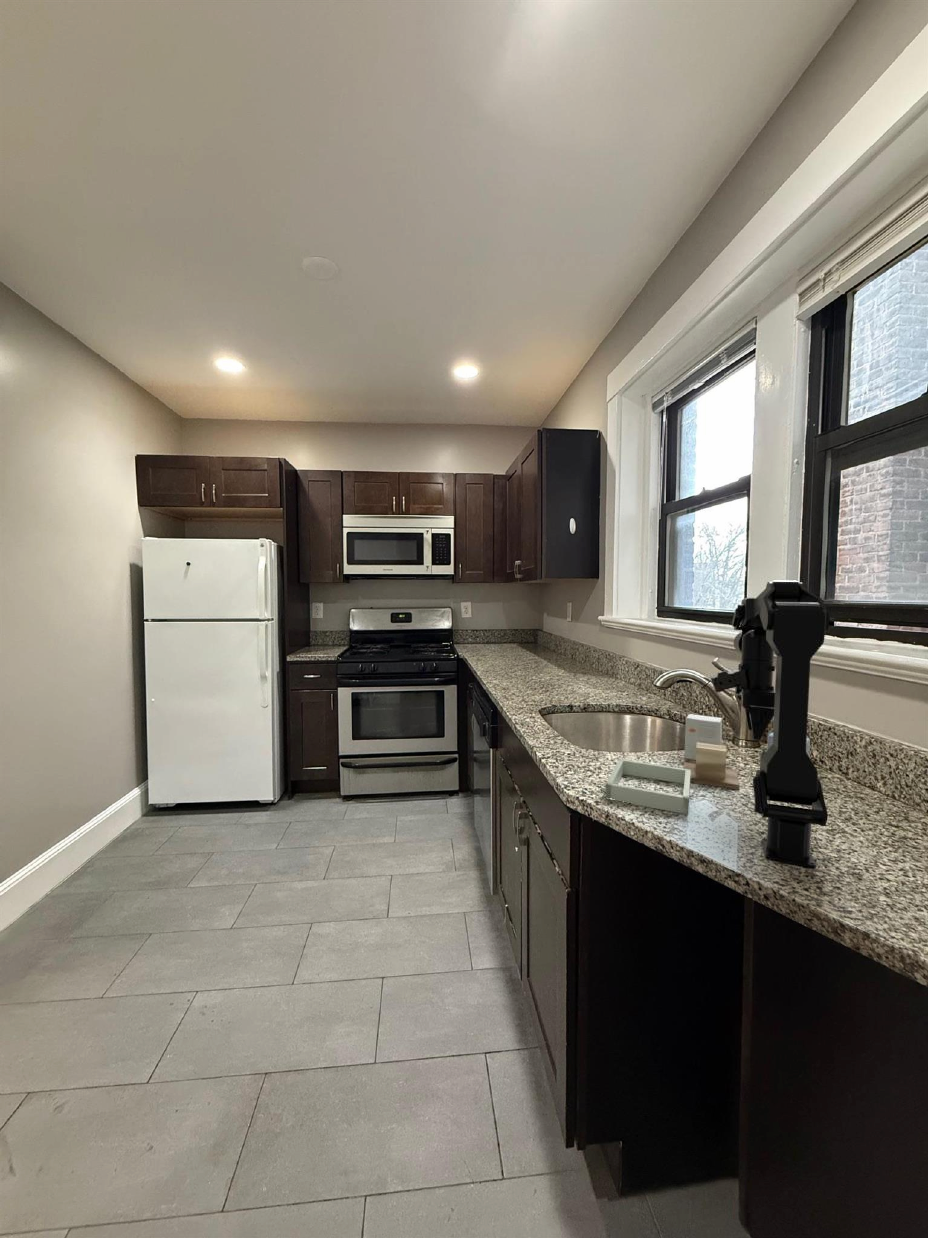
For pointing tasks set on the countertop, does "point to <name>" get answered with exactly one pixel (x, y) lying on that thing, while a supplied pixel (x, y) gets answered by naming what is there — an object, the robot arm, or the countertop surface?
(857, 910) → the countertop surface
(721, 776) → the pine block
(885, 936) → the countertop surface
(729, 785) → the walnut board
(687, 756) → the small box
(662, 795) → the sage bin
